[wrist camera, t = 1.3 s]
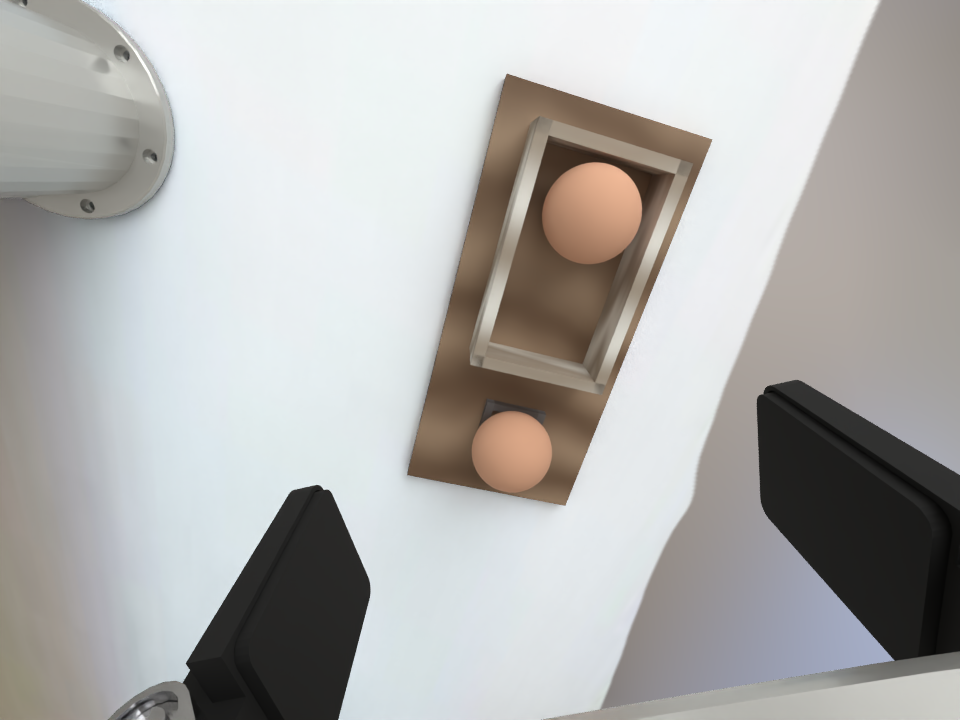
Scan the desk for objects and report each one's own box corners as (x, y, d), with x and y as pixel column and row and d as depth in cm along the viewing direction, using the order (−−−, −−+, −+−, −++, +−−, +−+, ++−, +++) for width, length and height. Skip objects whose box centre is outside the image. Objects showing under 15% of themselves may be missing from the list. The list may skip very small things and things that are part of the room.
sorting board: (562, 498, 41) (574, 534, 37) (408, 468, 39) (402, 502, 35) (704, 140, 31) (743, 134, 27) (505, 77, 29) (513, 59, 25)
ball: (561, 272, 33) (582, 291, 27) (518, 197, 31) (532, 200, 25) (637, 226, 32) (675, 235, 26) (598, 144, 30) (630, 136, 24)
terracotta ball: (495, 474, 39) (501, 523, 33) (456, 421, 37) (455, 464, 31) (557, 439, 38) (574, 484, 32) (520, 384, 36) (532, 421, 30)
